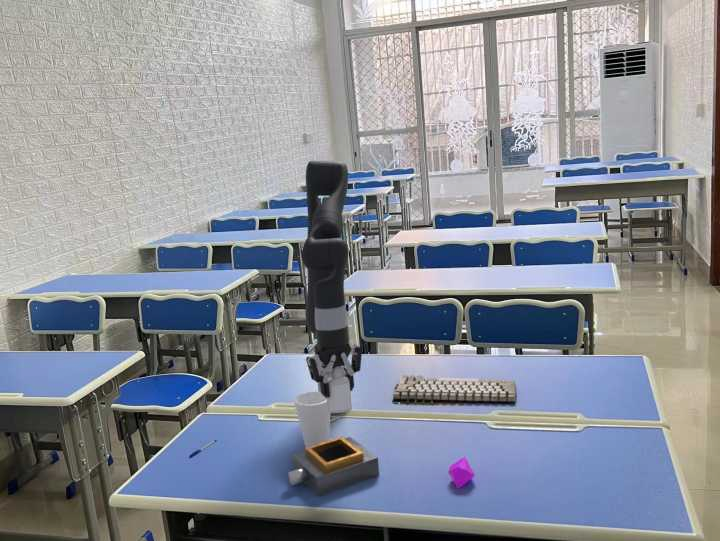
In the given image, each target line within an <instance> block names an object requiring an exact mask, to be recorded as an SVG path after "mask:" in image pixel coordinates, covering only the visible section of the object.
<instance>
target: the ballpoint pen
mask: <svg viewBox="0 0 720 541" xmlns="http://www.w3.org/2000/svg"><path fill="white" fill-rule="evenodd" d="M216 442H217V439H214V440H213V441H211V442H210V443H209V442H208V444H206V445H205V446H203V447H201V448H200V449H196V451H193V452H192V453H190V455H189V458H190V459H192V458H193V457H194V456H197V455H198V454H200V453H201V452H202V451H204V450H205V449H207V448H209V447H210V446H211V445H213V444H214V443H216Z"/></svg>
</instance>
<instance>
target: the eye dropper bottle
mask: <svg viewBox="0 0 720 541" xmlns="http://www.w3.org/2000/svg"><path fill="white" fill-rule="evenodd" d="M331 374H332V377H331V378H329V379H328V381H327V382H328V383H329V391H330V397H329V398H327V404H328V411H329V412H330V414H342V413H347V412H350V411H351V410H352V409H353V408H352V407H353V405H352V394H351V391H350V383H349V379H348V378H347V377H345V376H342V370H341V367H340V366H337V367H335V368H332V371H331Z"/></svg>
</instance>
